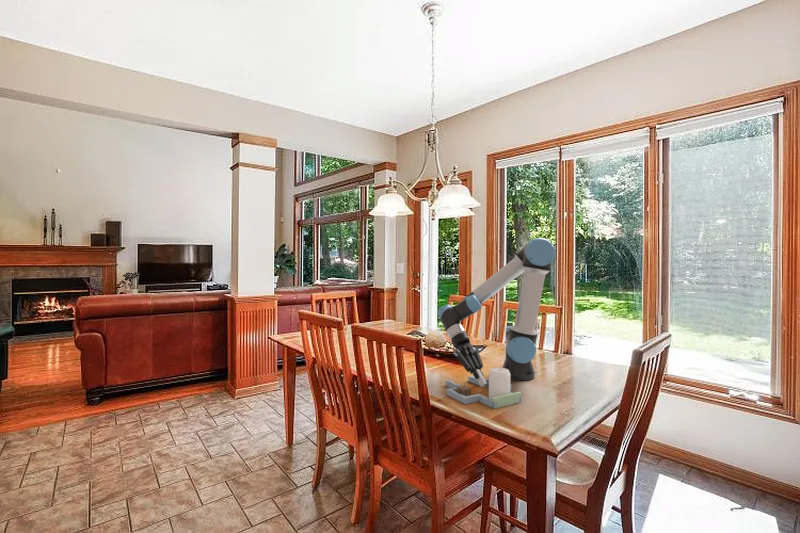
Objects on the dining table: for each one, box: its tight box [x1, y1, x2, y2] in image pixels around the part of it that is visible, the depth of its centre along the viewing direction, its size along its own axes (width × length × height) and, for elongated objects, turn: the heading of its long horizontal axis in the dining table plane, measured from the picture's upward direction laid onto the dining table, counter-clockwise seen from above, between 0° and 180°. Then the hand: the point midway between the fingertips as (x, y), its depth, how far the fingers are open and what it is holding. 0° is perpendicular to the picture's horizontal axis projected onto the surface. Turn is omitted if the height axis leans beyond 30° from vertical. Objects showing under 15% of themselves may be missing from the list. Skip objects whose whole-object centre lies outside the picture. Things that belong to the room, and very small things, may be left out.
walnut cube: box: [457, 384, 472, 396], centre depth 156 cm, size 4×4×4 cm
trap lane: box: [445, 375, 522, 409], centre depth 161 cm, size 30×27×2 cm
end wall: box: [491, 391, 523, 409], centre depth 148 cm, size 1×14×4 cm, turn 120°
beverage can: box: [488, 366, 511, 399], centre depth 154 cm, size 8×8×12 cm
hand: (483, 385), depth 159 cm, fingers closed
